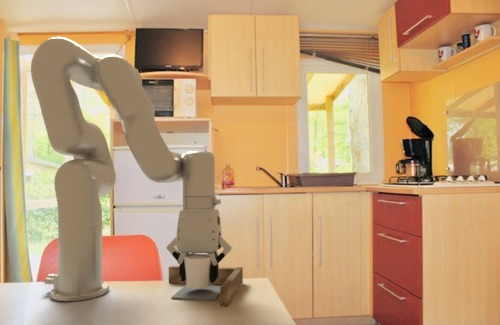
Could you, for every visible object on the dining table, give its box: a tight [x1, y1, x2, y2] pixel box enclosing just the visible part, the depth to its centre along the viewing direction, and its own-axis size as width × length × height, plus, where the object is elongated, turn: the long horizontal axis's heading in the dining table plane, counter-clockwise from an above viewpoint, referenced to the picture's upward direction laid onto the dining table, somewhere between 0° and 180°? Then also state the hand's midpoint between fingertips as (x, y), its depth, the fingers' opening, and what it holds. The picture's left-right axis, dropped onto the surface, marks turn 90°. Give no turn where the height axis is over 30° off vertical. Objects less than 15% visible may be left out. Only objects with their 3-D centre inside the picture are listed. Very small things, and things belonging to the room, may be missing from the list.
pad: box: [171, 283, 222, 302], centre depth 87 cm, size 10×10×1 cm
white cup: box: [184, 253, 212, 289], centre depth 87 cm, size 7×7×7 cm
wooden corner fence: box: [168, 265, 244, 308], centre depth 88 cm, size 19×17×4 cm
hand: (198, 279), depth 87 cm, fingers closed on white cup, 6 cm apart
